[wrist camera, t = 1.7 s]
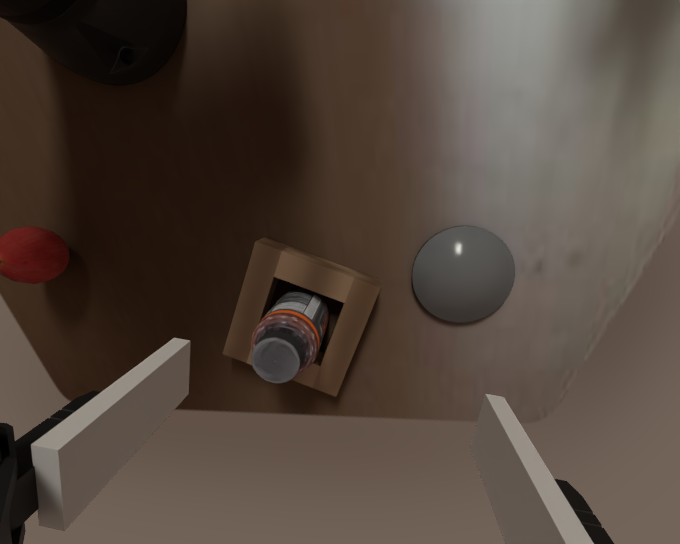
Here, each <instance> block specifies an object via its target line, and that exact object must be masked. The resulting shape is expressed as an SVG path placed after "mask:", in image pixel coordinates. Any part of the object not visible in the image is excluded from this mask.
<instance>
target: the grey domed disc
mask: <svg viewBox="0 0 680 544" xmlns="http://www.w3.org/2000/svg"><path fill="white" fill-rule="evenodd" d="M514 278H515V266H514V260H513V257H512V255H511V252H510V250H509V249H508V247H507V246H506V244H505V243H504V242H503V241H502V240H501V239H500V238H499V237H497V236H496V235H494V234H493V233H491V232H489V231H487V230H485V229H482V228H478V227H473V226H456V227H452V228H448V229H446V230H443V231H441V232H439V233H437V234H436V235H434V236H433V237H431V238H430V239H429V240H428V241H427V242H426V243H425V244H424V245H423V246H422V248H421V249H420V251H419V252H418V254H417V256H416V258H415V261H414V264H413V269H412V283H413V288H414V291H415V293H416V296H417V298H418V300H419V301H420V303H421V304H422V305H423V306H424V307H425V308H426V310H428V311H429V312H430V313H431V314H433V315H435V316H436V317H438V318H441V319H443V320H446V321H450V322H459V323H463V322H471V321H476V320H479V319H482V318H484V317H486V316H488V315H490V314H491V313H493V312H494V311H495V310H497V309H498V308H499V307H500V306H501V305H502V304H503V303H504V301H505V300H506V299H507V297H508V295H509V294H510V291H511V289H512V287H513V283H514Z"/></svg>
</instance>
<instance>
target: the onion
mask: <svg viewBox="0 0 680 544" xmlns="http://www.w3.org/2000/svg"><path fill="white" fill-rule="evenodd" d="M69 260H70V258H69V249H68V246H67V244H66V243H65V242H64V240H63V239H62V238H61V237H60V236H58V235H57V234H55V233H54V232H52V231H49V230H46V229H43V228H39V227H30V226H28V227H23V228H18V229H13V230H10V231H8V232H6V233H5V234H4V235H3V236H1V237H0V274H1V275H3V276H5V277H6V278H8V279H10V280H12V281H16V282H22V283H31V284H36V283H41V282H45V281H49V280H52V279H54V278H55V277H57V276H58V275H60V274H61V273H62V272H63V271H64V270H65V268H66V267H67V265H68V263H69Z"/></svg>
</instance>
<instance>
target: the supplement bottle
mask: <svg viewBox="0 0 680 544" xmlns="http://www.w3.org/2000/svg"><path fill="white" fill-rule="evenodd" d="M328 321H329V311H328V307H327V304H326V302H325V301H324V299H323V298H322V297H321V296H320V295H319V294H317V293H316V292H314V291H311V290H308V289H304V288H299V289H293V290H290V291H289V292H287V293H286V294H284V295H283V296H282V297H281V298H280V299H279V300H278V301H277V303H276V304H275V305H274V306H273V307H272V308H271V309H270V310H269V311H268V313H267V314H266V315H265V316H264V317H263V318H262V320H261V321H260V322H259V323H258V325H257V326H256V328H255V330H254V332H253V335H252V340H251V347H252V354H251V363H252V366H253V368H254V370H255V372H256V373H257V374H258V375H259V376H260V377H261V378H262V379H264V380H266V381H268V382H271V383H284V382H288V381H290V380H291V379H293V378H294V377H295V376H296V375H299V374H301V373H303V372H304V371H306V370H307V369H308V368H309V367H310V366H311V365H312V364H313V362H314V361H315V359H316V356H317V354H318V351H319V348H320V345H321V342H322V339H323V336H324V334H325V331H326V328H327V325H328Z"/></svg>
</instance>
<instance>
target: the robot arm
mask: <svg viewBox="0 0 680 544" xmlns="http://www.w3.org/2000/svg"><path fill="white" fill-rule="evenodd" d="M185 6H186V0H0V17H1V18H3V19H5V20H7V21H8V22H9V23H11V24H12V25H13V26H14V27H15V28H17V29H18V30H19V31H20V32H21V33H23V34H24V35H25V36H26V37H27V38H29V39H30V40H31V41H32V42H33V43H35V44H36V45H37V46H38V47H39V48H41V49H42V50H43V51H44V52H45V53H47V54H48V55H49V56H50V57H52V58H53V59H54V60H55V61H57V62H58V63H59V64H61V65H63V66H64V67H66V68H68V69H69V70H71V71H73V72H75V73H77V74H80V75H82V76H85V77H87V78H90V79H93V80H95V81H98V82H101V83H105V84H111V85H126V84H132V83H135V82H139V81H141V80H144V79H146V78H147V77H149V76H151V75H152V74H154V73H155V72H156V71H158V70H159V69H160V68H161V67H162V66H163V65H164V64H165V63H166V61H167V60H168V59H169V57H170V56H171V54H172V53H173V51H174V49H175V47H176V45H177V43H178V41H179V38H180V35H181V32H182V28H183V24H184V18H185ZM189 368H190V340H184V339H179V338H173V339H172V340H170V341H169V342H168V343H166V344H165V345H164V346H162V347H161V348H160V349H158V350H157V351H156V352H154V353H153V354H152V355H150V356H149V357H148V358H146V359H145V360H144V361H142V362H141V363H140V364H138V365H137V366H136V367H134V368H133V369H132V370H130V371H129V372H128V373H126V374H125V375H124V376H122V377H121V378H120V379H118V380H117V381H116V382H114V383H113V384H111V385H110V386H109V387H107V388H106V389H105V390H103V391H102V392H97V391H92V392H90V393H87V394H85V395H83V396H80V397H78V398H76V399H75V400H73V401H72V402H70V403H69V404H67V405H66V406H65V407H63V408H62V410H59V411H58V412H56V413H55V414H53V415H52V416H51V418H50V419H49V418H48V419H46V420H45V421H43V422H42V423H41V424H39V425H38V426H36V427H35V428H33V429H32V430H31V431H29V432H28V433H26V434H25V435H24V436H22V437H21V438H20V439H18V440H16V441H15V440H14V431H13V427H12V426H11V425H9V424H7V423H0V544H23V540H24V535H25V524H24V522H25V521H26V520H27V519H28V518H29V517H30V516H31V515H32V514H33V513H34V512H35V511H36V510H37V509H38V518H39V525H40V526H44V527H48V528H53V529H58V530H62V531H65V530H66V529H67V528H68V527H69V526H70V524H71V523H72V522H73V521H74V520H75V519H76V518H77V517H78V516H79V515H80V513H81V512H82V511H83V510H84V509H85V508H86V507H87V506H88V505H89V503H90V502H91V501H92V500H93V499H94V498H95V497H96V496H97V495H98V493H99V492H100V491H101V490H102V489H103V488H104V487H105V486H106V485H107V484H108V482H109V481H110V480H111V479H112V478H113V477H114V476H115V475H116V474H117V472H118V471H119V470H120V469H121V468H122V467H123V466H124V465H125V464H126V463H127V461H128V460H129V459H130V458H131V457H132V456H133V455H134V454H135V453H136V452H137V450H138V449H139V448H140V447H141V446H142V445H143V444H144V443H145V442H146V440H147V439H148V438H149V437H150V436H151V435H152V434H153V433H154V431H155V430H156V429H157V428H158V427H159V426H160V425H161V424H162V423H163V422H164V421H165V419H166V418H167V417H168V416H169V415H170V414H171V413H172V412H173V411H174V409H175V408H176V407H177V406H178V405H179V404H180V403H181V402H182V401H183V400H184V398H185V397H186V396H187V395H188V394H189ZM470 448H471V451H472V454H473V457H474V459H475V462H476V465H477V467H478V470H479V473H480V476H481V478H482V481H483V484H484V486H485V489H486V492H487V495H488V497H489V500H490V503H491V506H492V508H493V511H494V514H495V517H496V519H497V522H498V524H499V527H500V530H501V533H502V536H503V538H504V541H505V544H614V543H613V541H612V540H611V538H610V537H609V536H608V534H607V532H606V531H605V530H604V528H602V527H601V523H600V522H599V521H598V519H597V518H596V516H595V515H593V513H592V510H591V509H590V507H589V506H588V504H587V503H586V501H585V500H584V498H583V497H582V496H581V495H580V494H579V493H578V492H577V491H576V490H575V489H574V488H573V487H572V486H571V485H570V484H569V483H568V482H567V481H563V480H558V479H554V478H553V477H552V475H551V473H550V472H549V470H548V469H547V467H546V465H545V464H544V462H543V460H542V459H541V457H540V455H539V454H538V452H537V451H536V449H535V447H534V446H533V444H532V442H531V441H530V439H529V438H528V436H527V434H526V433H525V431H524V429H523V428H522V426H521V425H520V423H519V421H518V420H517V418H516V416H515V415H514V413H513V412H512V410H511V408H510V407H509V405H508V403H507V402H506V400H505V399H504V397H500V396H495V395H489V394H485V397H484V400H483V404H482V407H481V411H480V414H479V418H478V421H477V425H476V428H475V432H474V436H473V439H472V443H471V446H470Z"/></svg>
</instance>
